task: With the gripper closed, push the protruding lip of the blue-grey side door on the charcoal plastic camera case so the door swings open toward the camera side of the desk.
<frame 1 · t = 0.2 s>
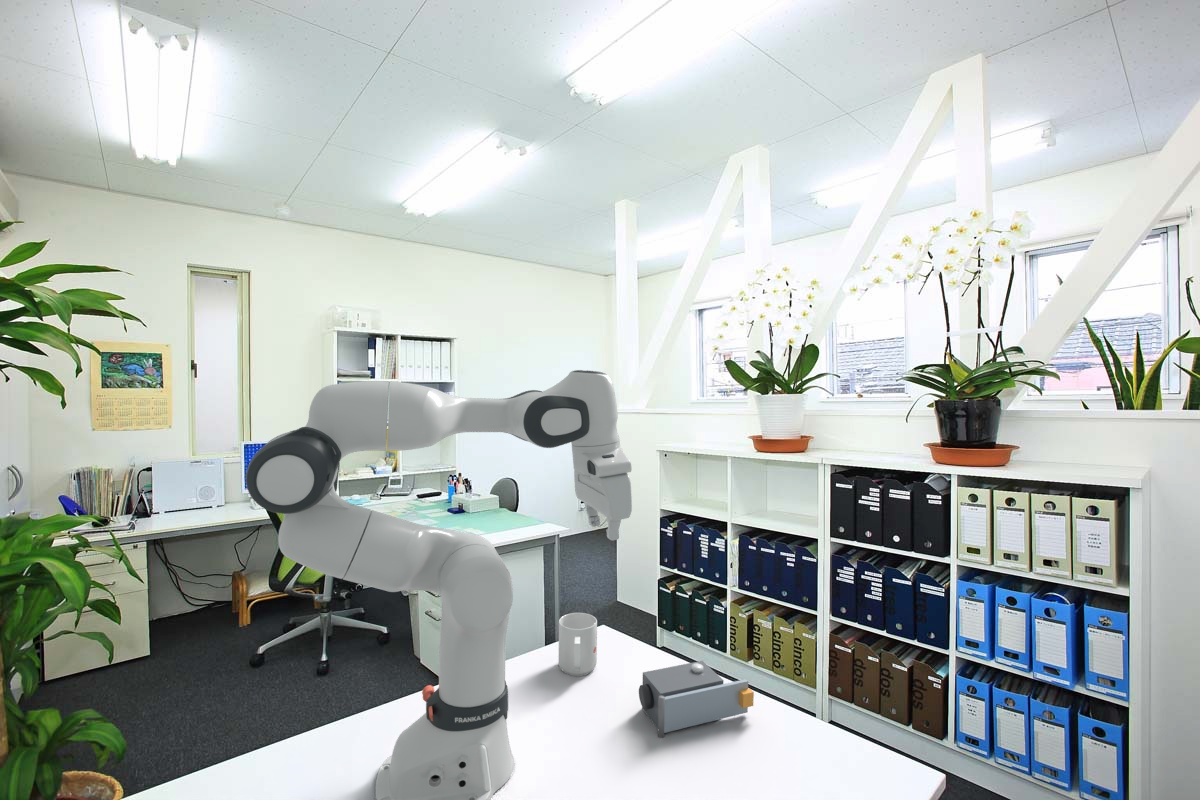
hand: (603, 532, 101), 39 cm above the table, tool pointing down, fingers open, 8 cm apart
camera case: (681, 712, 110), on the table
side door: (706, 708, 106), point 4 cm above the table, hinge at 0.0°
mug: (577, 672, 126), on the table
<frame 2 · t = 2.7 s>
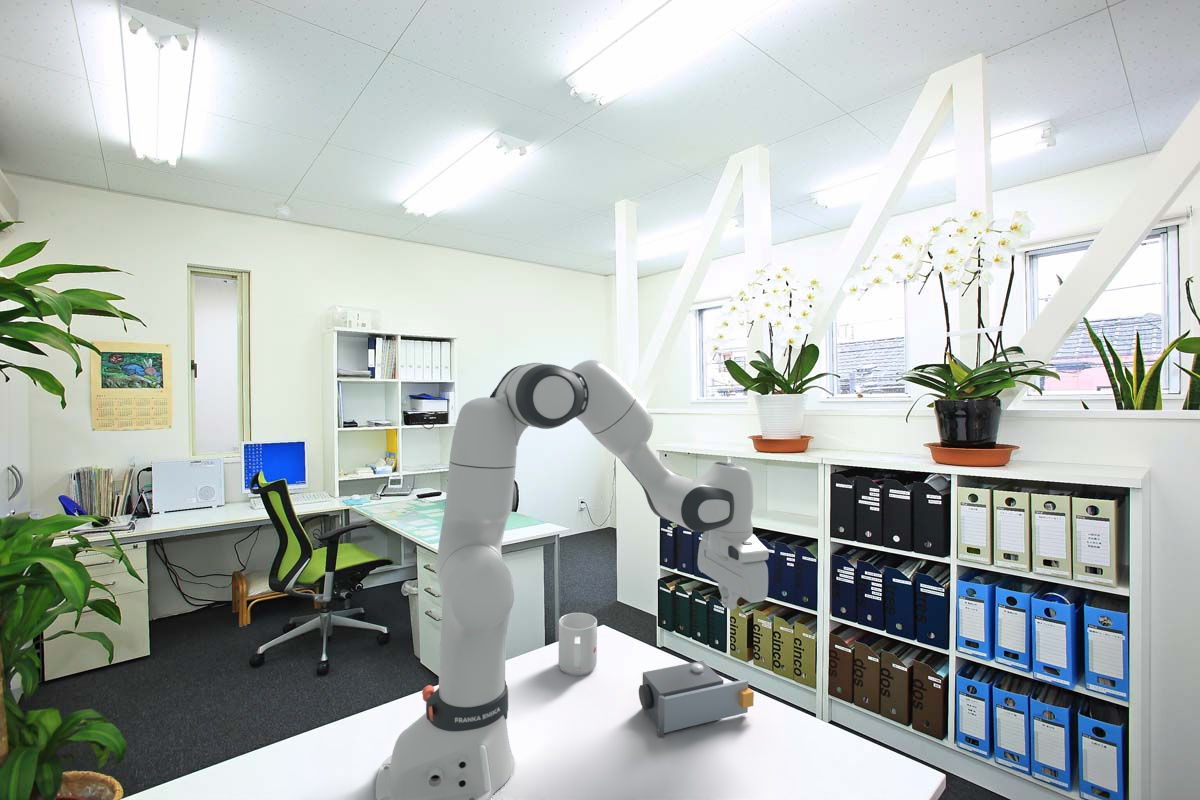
hand: (729, 606, 113), 20 cm above the table, tool pointing down, fingers closed
nothing on the table moved.
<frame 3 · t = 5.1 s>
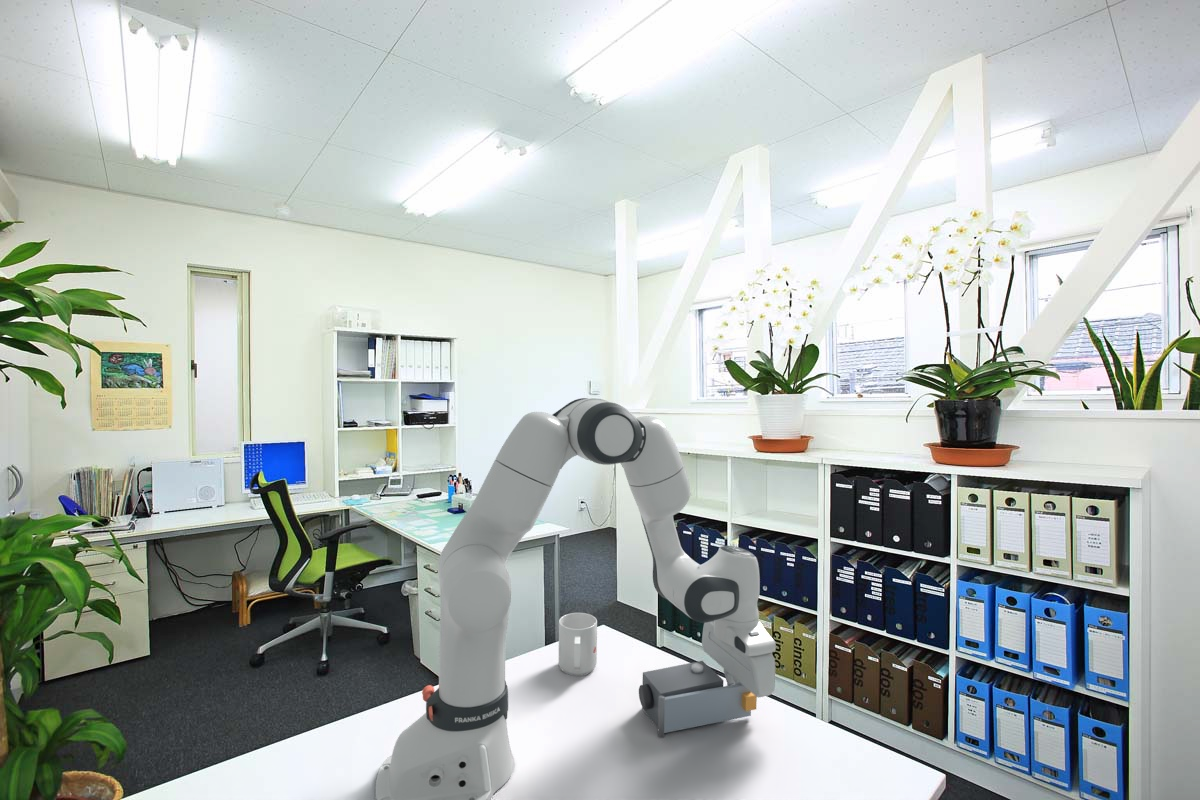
hand: (734, 693, 111), 4 cm above the table, tool pointing down, fingers closed
side door: (707, 709, 105), point 4 cm above the table, hinge at 3.4°, touching gripper
everything else where it was.
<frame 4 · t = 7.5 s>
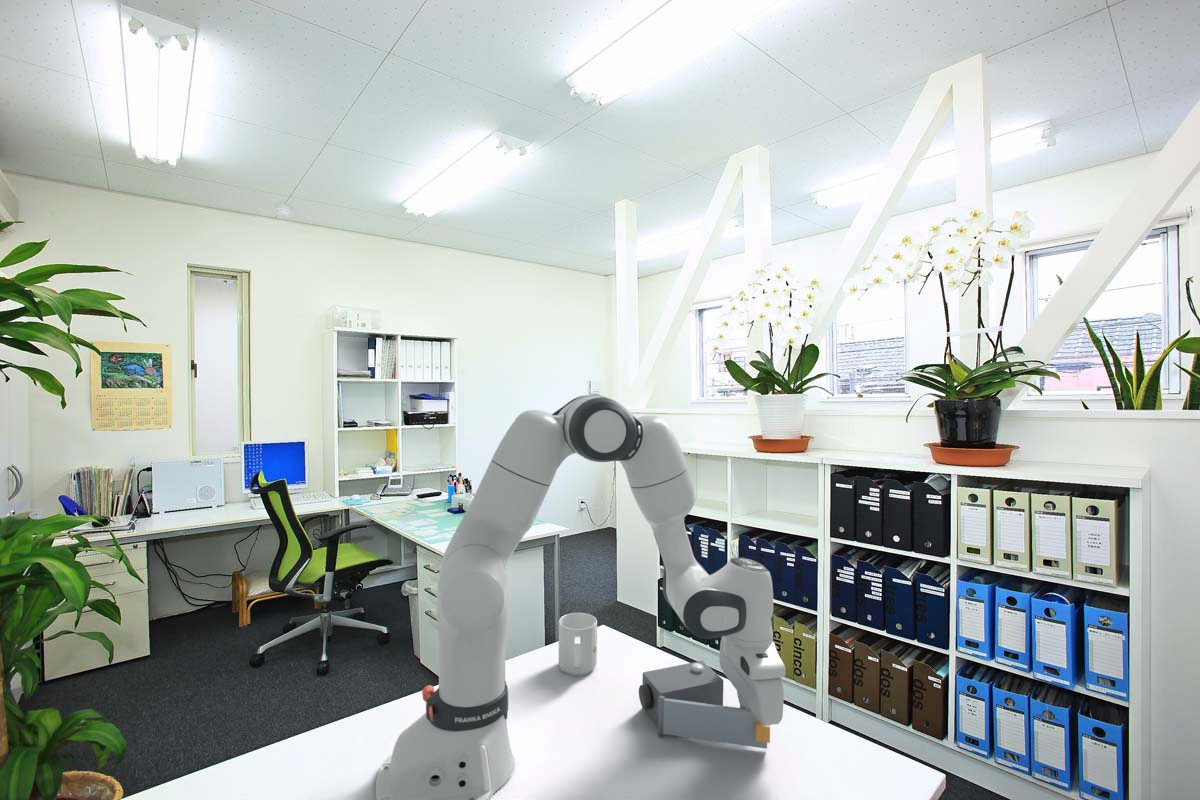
hand: (747, 718, 103), 4 cm above the table, tool pointing down, fingers closed
side door: (712, 725, 101), point 4 cm above the table, hinge at 32.8°, touching gripper
everything else where it was.
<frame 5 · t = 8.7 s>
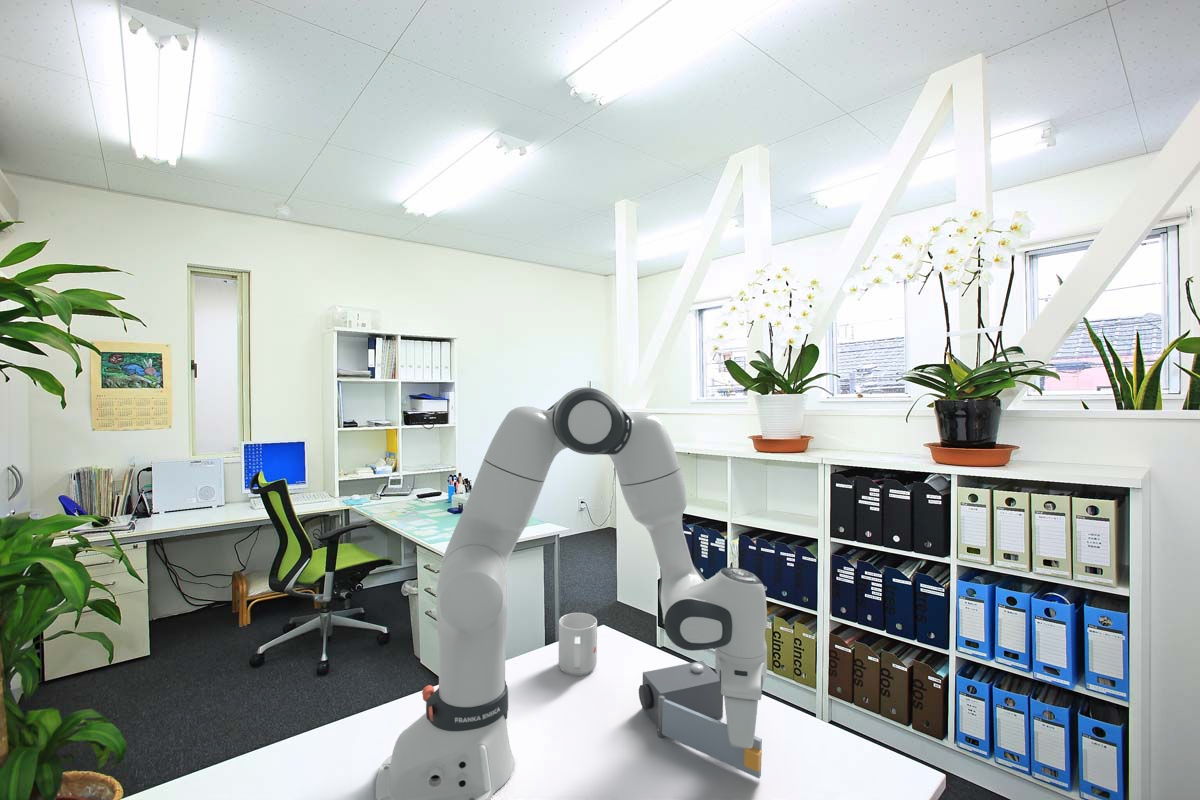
hand: (740, 738, 97), 4 cm above the table, tool pointing down, fingers closed
side door: (705, 738, 97), point 4 cm above the table, hinge at 57.7°, touching gripper
everything else where it was.
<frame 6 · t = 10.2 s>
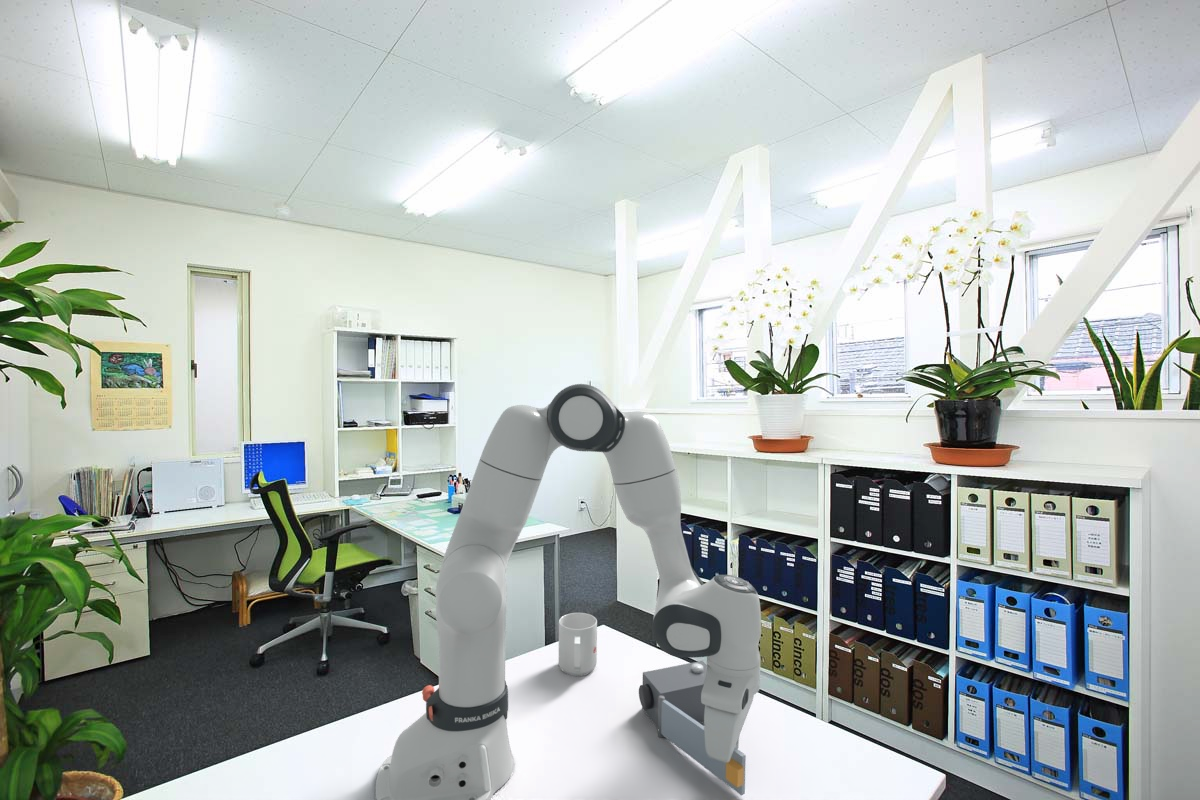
hand: (731, 752, 93), 4 cm above the table, tool pointing down, fingers closed
side door: (696, 744, 95), point 4 cm above the table, hinge at 74.0°, touching gripper
everything else where it was.
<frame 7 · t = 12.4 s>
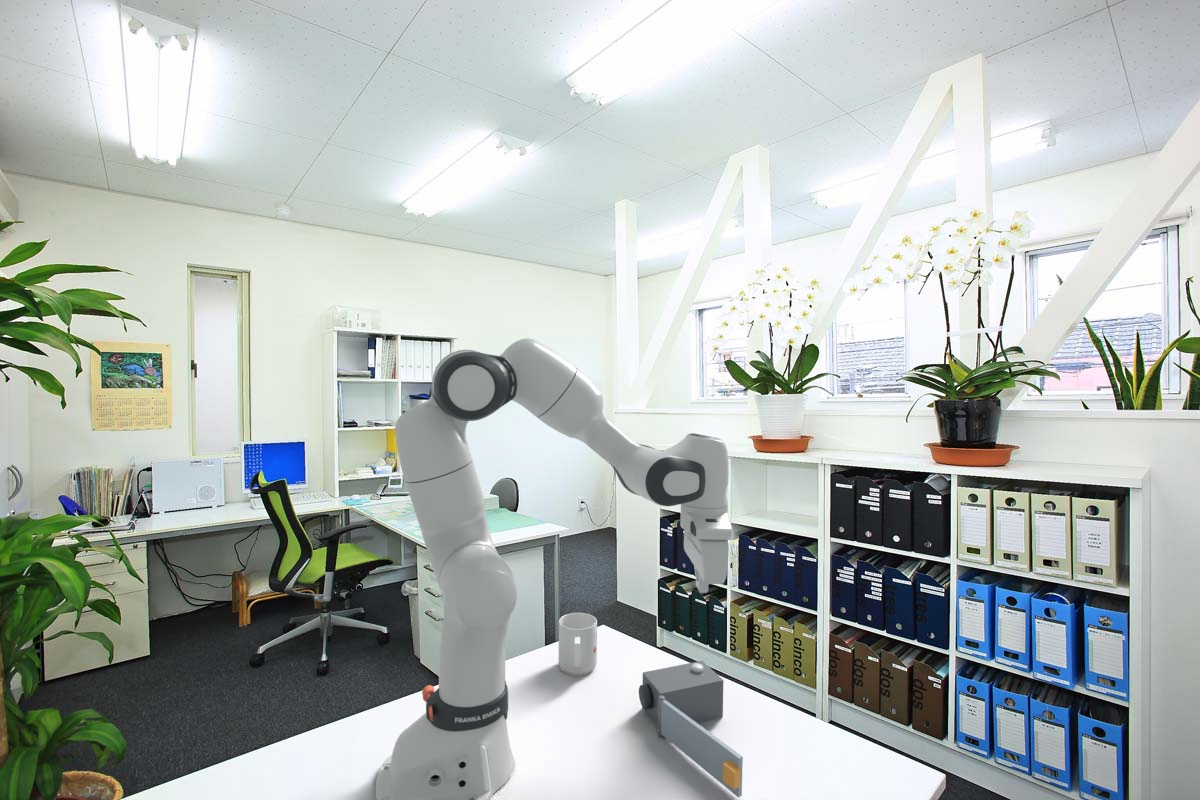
hand: (701, 590, 105), 27 cm above the table, tool pointing down, fingers closed
side door: (694, 745, 95), point 4 cm above the table, hinge at 76.2°
everything else where it was.
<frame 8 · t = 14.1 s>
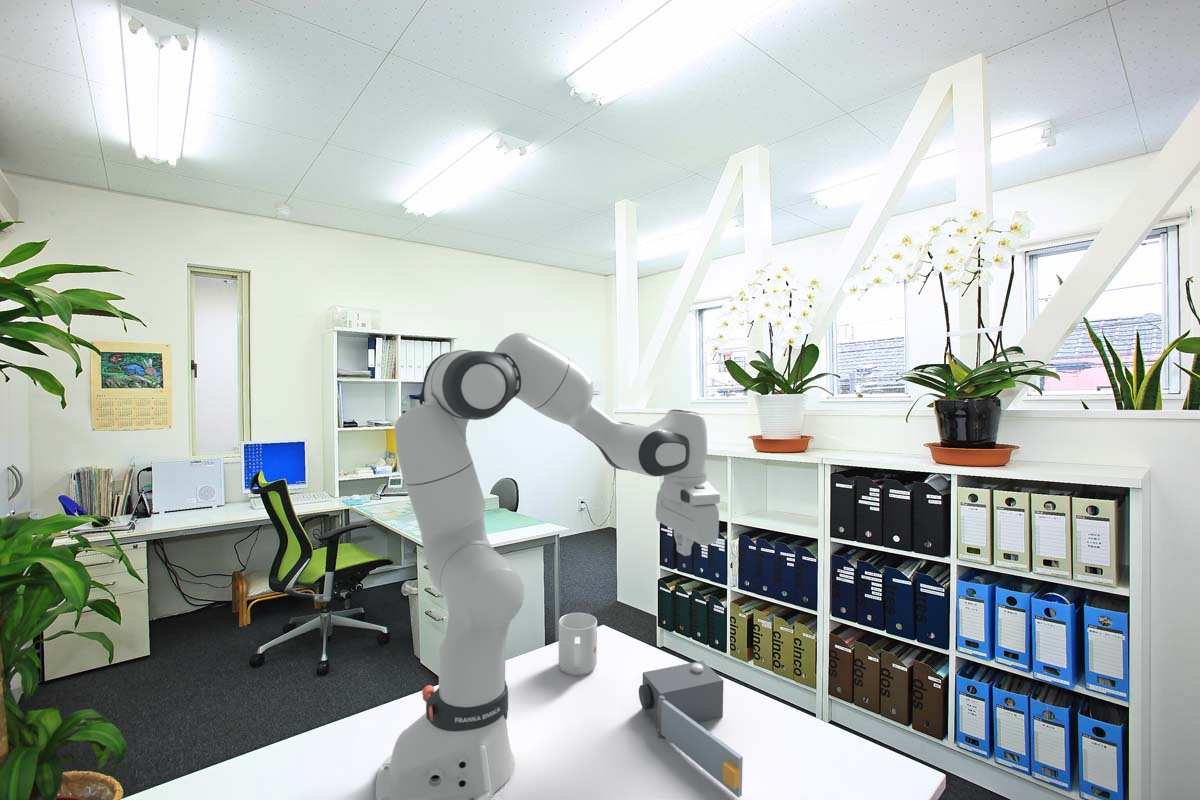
hand: (683, 553, 114), 31 cm above the table, tool pointing down, fingers closed
nothing on the table moved.
at the end: side door at +76° (first picture: +0°); side door touching nothing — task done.
